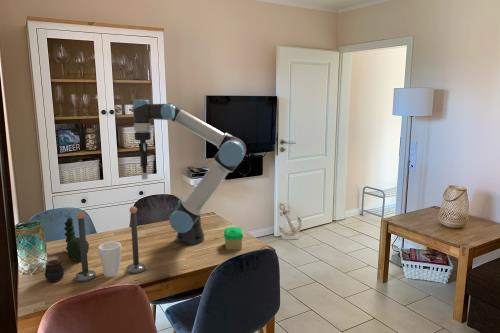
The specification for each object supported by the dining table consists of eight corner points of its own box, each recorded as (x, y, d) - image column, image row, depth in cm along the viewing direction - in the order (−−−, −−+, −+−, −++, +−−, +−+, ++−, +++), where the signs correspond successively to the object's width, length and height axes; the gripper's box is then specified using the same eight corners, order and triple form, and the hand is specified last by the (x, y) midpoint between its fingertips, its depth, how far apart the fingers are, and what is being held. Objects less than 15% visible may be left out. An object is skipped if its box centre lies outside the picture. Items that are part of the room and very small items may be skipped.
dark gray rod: (89, 271, 165) (84, 210, 160) (89, 274, 162) (84, 212, 157) (81, 272, 164) (76, 211, 159) (81, 276, 161) (76, 213, 156)
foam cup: (100, 280, 161) (98, 251, 159) (99, 271, 170) (97, 243, 167) (124, 276, 165) (122, 247, 163) (121, 267, 173) (120, 240, 171)
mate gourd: (66, 274, 166) (64, 253, 164) (61, 283, 159) (59, 261, 157) (49, 275, 165) (46, 254, 163) (42, 284, 157) (40, 262, 155)
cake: (224, 250, 192) (224, 232, 191) (223, 242, 203) (223, 225, 201) (243, 250, 193) (243, 231, 192) (242, 242, 204) (242, 224, 202)
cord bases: (144, 264, 176) (144, 261, 176) (146, 272, 169) (146, 268, 168) (76, 275, 166) (75, 271, 165) (75, 283, 158) (74, 279, 158)
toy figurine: (61, 254, 192) (72, 267, 172) (57, 217, 190) (68, 226, 170) (81, 249, 197) (94, 262, 177) (77, 214, 195) (90, 222, 175)
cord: (139, 264, 173) (136, 205, 168) (140, 267, 170) (137, 207, 165) (132, 265, 172) (128, 206, 167) (132, 268, 169) (129, 208, 164)
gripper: (133, 130, 189) (135, 177, 194) (135, 133, 177) (138, 182, 182) (148, 130, 192) (150, 175, 196) (152, 132, 180) (154, 181, 184)
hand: (144, 178), depth 189 cm, fingers closed
